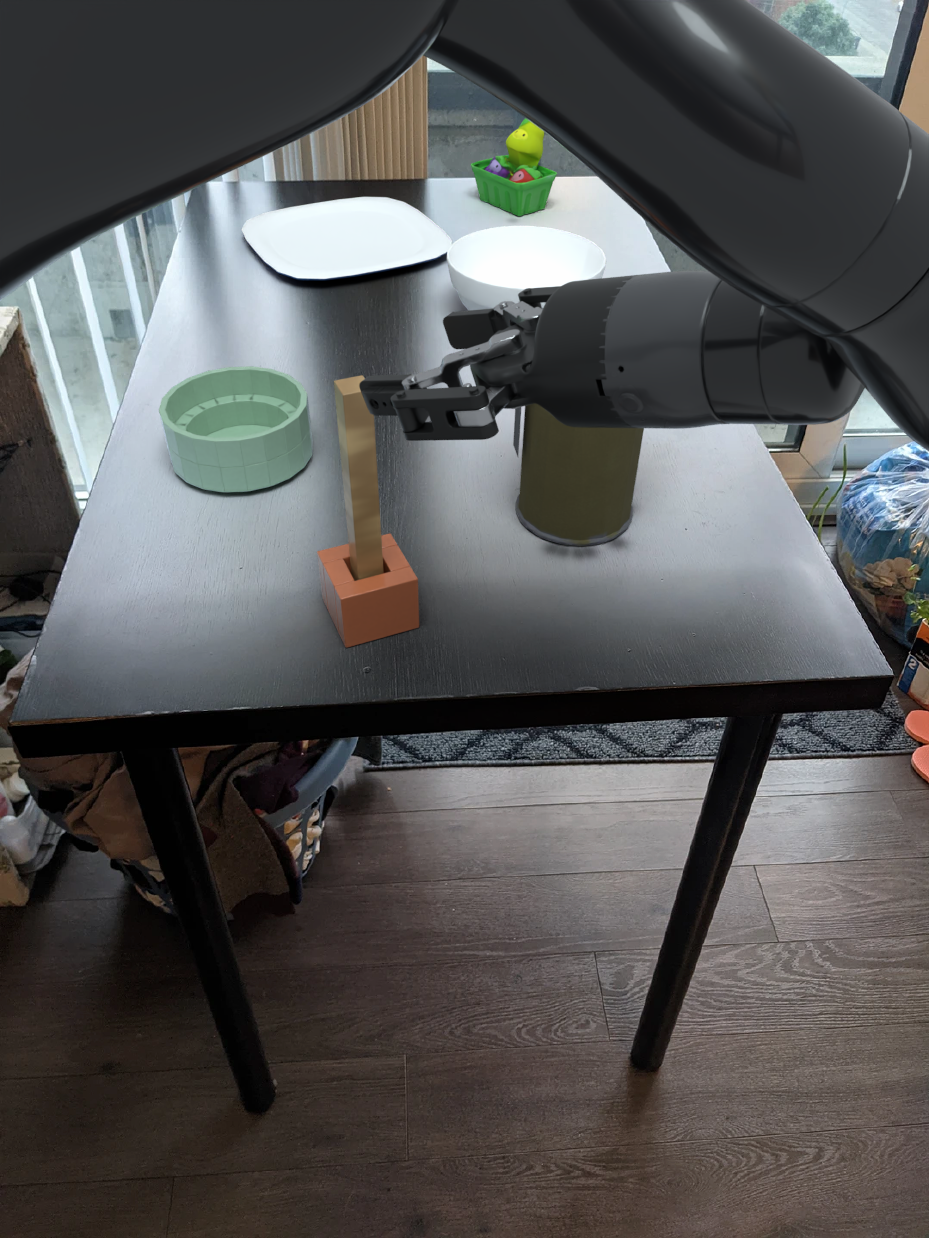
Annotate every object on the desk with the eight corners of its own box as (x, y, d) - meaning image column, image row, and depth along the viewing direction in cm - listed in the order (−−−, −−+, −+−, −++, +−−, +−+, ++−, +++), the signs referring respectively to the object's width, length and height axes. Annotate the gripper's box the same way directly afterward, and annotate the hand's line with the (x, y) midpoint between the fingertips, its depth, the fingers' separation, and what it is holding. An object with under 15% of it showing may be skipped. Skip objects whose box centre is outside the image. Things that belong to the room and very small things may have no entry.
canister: (614, 473, 89) (644, 263, 76) (647, 541, 82) (687, 322, 68) (500, 482, 88) (510, 270, 74) (523, 552, 80) (539, 331, 67)
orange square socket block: (345, 648, 72) (340, 599, 68) (322, 599, 76) (316, 550, 72) (419, 627, 73) (418, 578, 70) (393, 581, 77) (390, 532, 74)
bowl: (420, 301, 116) (419, 241, 111) (546, 273, 123) (550, 215, 118) (495, 365, 104) (497, 302, 99) (630, 330, 111) (638, 269, 106)
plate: (228, 228, 132) (226, 216, 131) (395, 201, 141) (394, 189, 140) (288, 299, 116) (286, 285, 115) (472, 263, 124) (472, 250, 123)
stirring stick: (362, 625, 74) (342, 394, 60) (354, 609, 75) (333, 380, 61) (386, 618, 74) (372, 389, 61) (378, 602, 76) (362, 374, 62)
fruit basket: (467, 199, 142) (468, 117, 134) (511, 187, 146) (515, 106, 138) (518, 222, 135) (522, 136, 128) (563, 208, 140) (569, 124, 132)
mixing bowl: (187, 511, 84) (174, 453, 80) (161, 436, 93) (148, 381, 89) (330, 479, 88) (324, 422, 84) (292, 410, 97) (285, 356, 93)
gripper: (693, 224, 50) (455, 255, 60) (560, 347, 42) (310, 359, 52) (715, 357, 54) (489, 365, 64) (597, 491, 46) (360, 477, 56)
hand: (409, 362), depth 58 cm, fingers open, 8 cm apart
